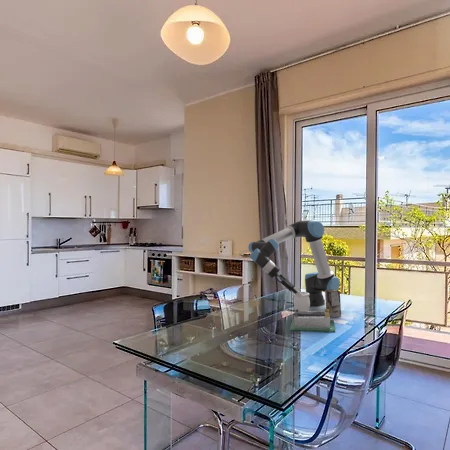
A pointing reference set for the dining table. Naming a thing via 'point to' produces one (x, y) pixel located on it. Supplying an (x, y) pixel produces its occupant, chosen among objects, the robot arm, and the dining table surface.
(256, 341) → the dining table surface
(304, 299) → the jar
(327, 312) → the heat sink
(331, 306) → the coffee box
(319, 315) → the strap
